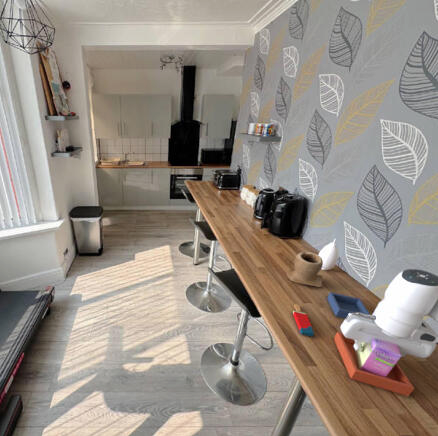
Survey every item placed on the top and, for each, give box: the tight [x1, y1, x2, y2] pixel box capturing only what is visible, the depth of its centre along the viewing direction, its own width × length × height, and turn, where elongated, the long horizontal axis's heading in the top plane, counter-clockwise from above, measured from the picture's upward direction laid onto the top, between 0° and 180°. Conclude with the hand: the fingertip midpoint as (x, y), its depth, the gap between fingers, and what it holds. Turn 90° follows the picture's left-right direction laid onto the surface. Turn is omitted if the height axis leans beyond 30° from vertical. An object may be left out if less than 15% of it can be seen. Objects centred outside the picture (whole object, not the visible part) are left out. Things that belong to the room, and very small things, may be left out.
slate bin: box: [326, 291, 371, 320], centre depth 95 cm, size 11×11×4 cm
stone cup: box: [286, 251, 324, 288], centre depth 109 cm, size 15×12×15 cm
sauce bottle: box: [318, 238, 339, 271], centre depth 118 cm, size 8×8×18 cm
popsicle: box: [292, 303, 315, 338], centre depth 90 cm, size 4×2×15 cm
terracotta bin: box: [333, 331, 415, 397], centre depth 74 cm, size 14×15×4 cm
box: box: [355, 339, 402, 377], centre depth 72 cm, size 10×6×12 cm, turn 147°
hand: (373, 353), depth 73 cm, fingers open, 7 cm apart
